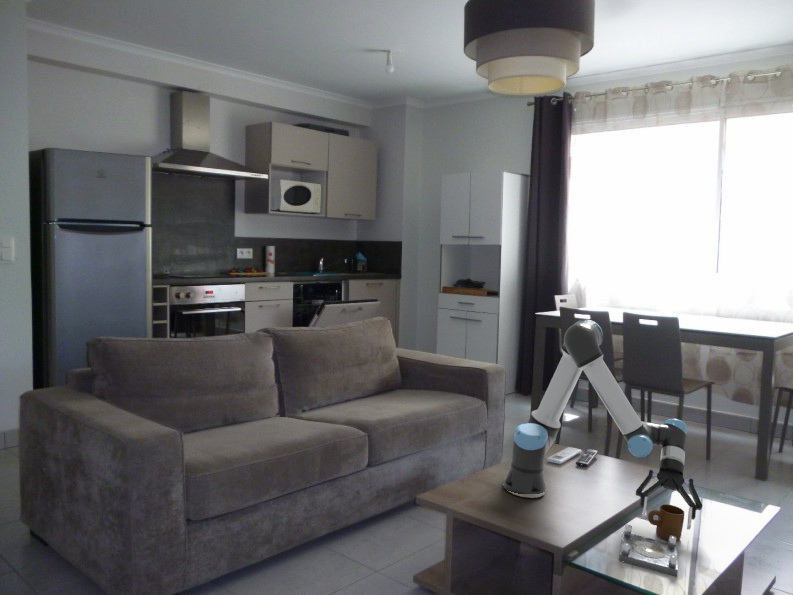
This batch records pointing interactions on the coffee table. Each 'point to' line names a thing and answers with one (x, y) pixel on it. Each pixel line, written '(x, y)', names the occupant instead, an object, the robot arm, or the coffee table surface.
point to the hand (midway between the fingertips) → (666, 522)
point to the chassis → (649, 552)
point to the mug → (668, 521)
